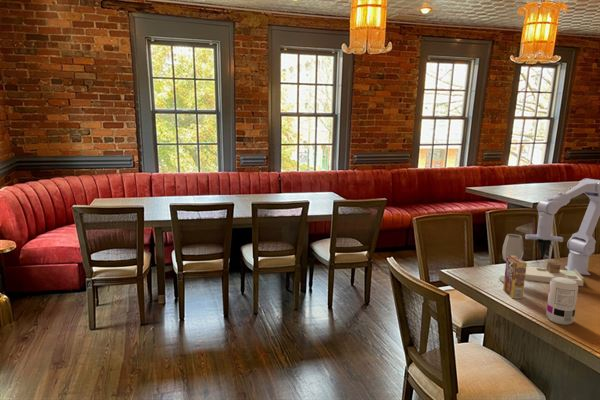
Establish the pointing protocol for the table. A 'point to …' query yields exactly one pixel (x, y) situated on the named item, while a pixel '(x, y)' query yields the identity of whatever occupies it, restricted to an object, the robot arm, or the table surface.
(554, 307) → the supplement can
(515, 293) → the candy box
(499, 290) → the table surface
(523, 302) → the table surface
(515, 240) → the wineglass
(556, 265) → the block
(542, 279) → the beige flat block
